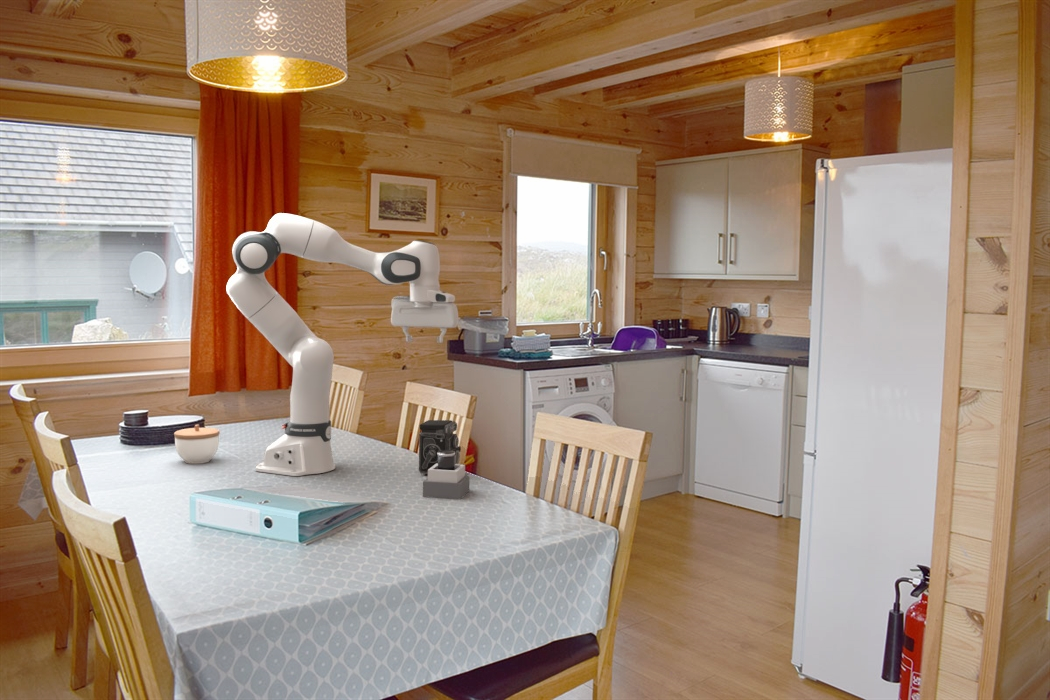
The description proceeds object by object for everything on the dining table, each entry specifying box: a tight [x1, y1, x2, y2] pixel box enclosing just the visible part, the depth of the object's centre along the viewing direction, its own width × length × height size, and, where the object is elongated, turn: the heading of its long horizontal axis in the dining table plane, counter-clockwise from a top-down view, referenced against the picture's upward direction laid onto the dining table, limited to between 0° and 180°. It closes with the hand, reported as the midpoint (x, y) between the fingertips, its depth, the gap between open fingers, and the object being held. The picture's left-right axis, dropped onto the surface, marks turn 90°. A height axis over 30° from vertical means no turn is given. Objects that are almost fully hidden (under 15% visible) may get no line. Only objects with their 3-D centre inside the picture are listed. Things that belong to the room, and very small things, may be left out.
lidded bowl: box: [173, 424, 220, 465], centre depth 241 cm, size 13×13×11 cm
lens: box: [437, 450, 455, 470], centre depth 209 cm, size 5×5×7 cm
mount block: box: [422, 463, 470, 500], centre depth 209 cm, size 10×9×7 cm
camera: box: [418, 419, 462, 476], centre depth 231 cm, size 10×10×15 cm
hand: (424, 342), depth 239 cm, fingers open, 8 cm apart
